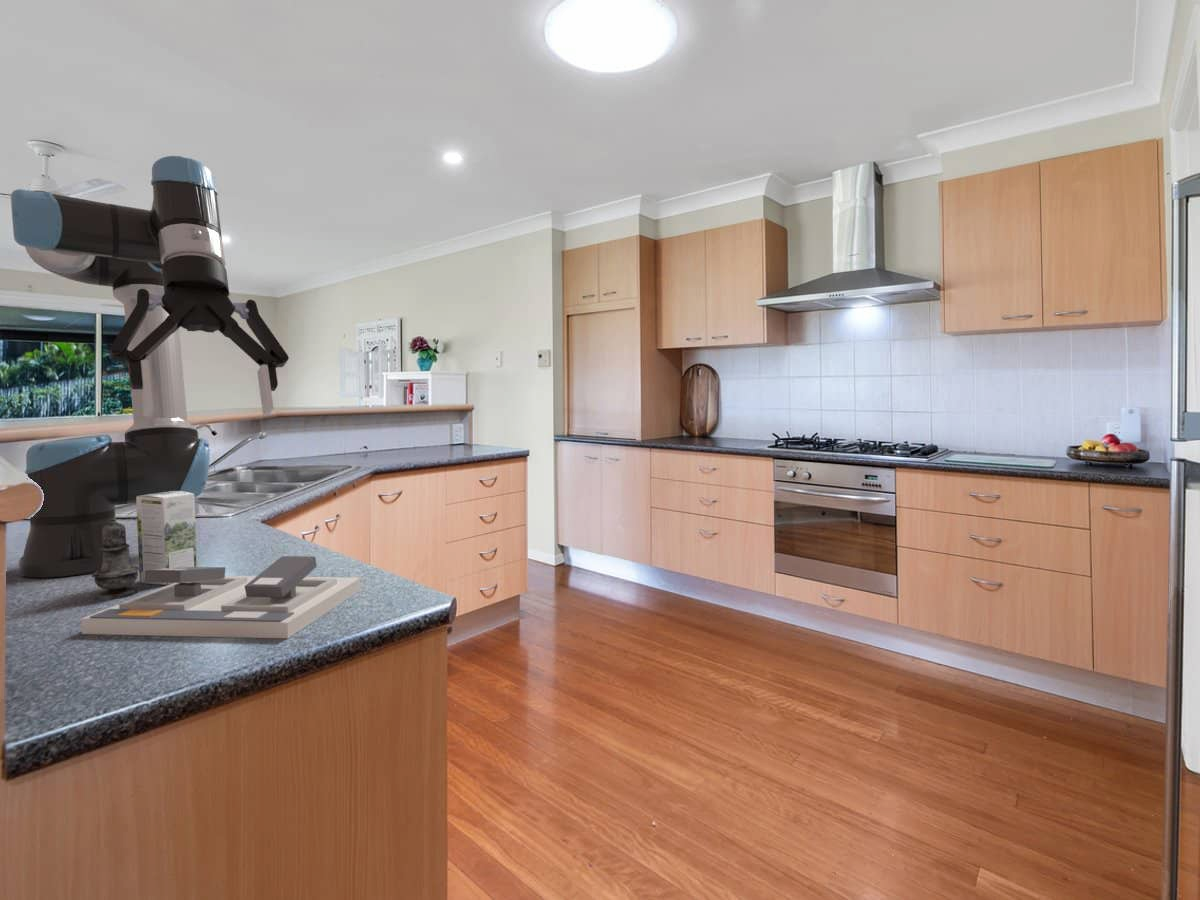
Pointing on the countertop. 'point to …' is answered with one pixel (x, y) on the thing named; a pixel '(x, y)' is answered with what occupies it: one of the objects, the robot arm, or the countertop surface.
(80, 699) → the countertop surface
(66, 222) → the robot arm
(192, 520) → the syrup box
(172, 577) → the switch
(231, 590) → the switch panel
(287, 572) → the switch
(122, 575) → the grey tiered stone piece
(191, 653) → the countertop surface
